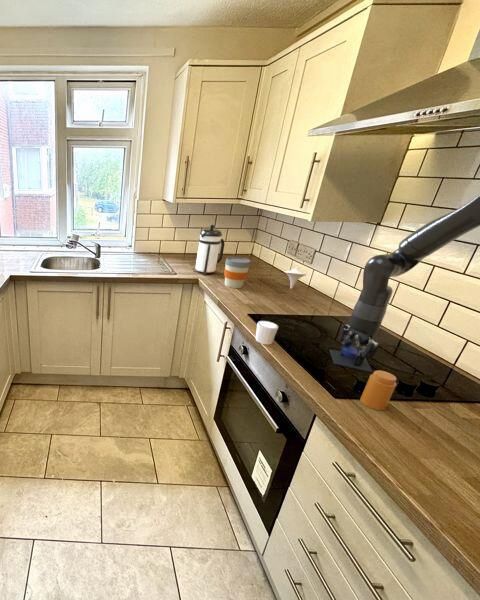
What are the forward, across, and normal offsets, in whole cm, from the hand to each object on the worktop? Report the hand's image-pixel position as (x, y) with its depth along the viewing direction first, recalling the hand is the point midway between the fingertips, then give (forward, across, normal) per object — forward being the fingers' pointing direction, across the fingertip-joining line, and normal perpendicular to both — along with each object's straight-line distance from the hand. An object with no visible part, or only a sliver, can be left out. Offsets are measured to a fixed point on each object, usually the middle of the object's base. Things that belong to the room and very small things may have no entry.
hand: (349, 359), depth 107 cm
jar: (+1, +22, -9) cm, 24 cm away
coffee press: (+1, -101, -19) cm, 103 cm away
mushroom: (+1, -73, +19) cm, 76 cm away
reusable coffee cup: (+1, -76, -11) cm, 77 cm away
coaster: (+1, 0, 0) cm, 1 cm away
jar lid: (-3, 0, 0) cm, 3 cm away
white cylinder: (+1, -12, -23) cm, 26 cm away
